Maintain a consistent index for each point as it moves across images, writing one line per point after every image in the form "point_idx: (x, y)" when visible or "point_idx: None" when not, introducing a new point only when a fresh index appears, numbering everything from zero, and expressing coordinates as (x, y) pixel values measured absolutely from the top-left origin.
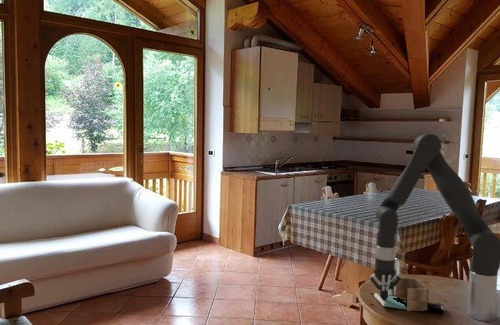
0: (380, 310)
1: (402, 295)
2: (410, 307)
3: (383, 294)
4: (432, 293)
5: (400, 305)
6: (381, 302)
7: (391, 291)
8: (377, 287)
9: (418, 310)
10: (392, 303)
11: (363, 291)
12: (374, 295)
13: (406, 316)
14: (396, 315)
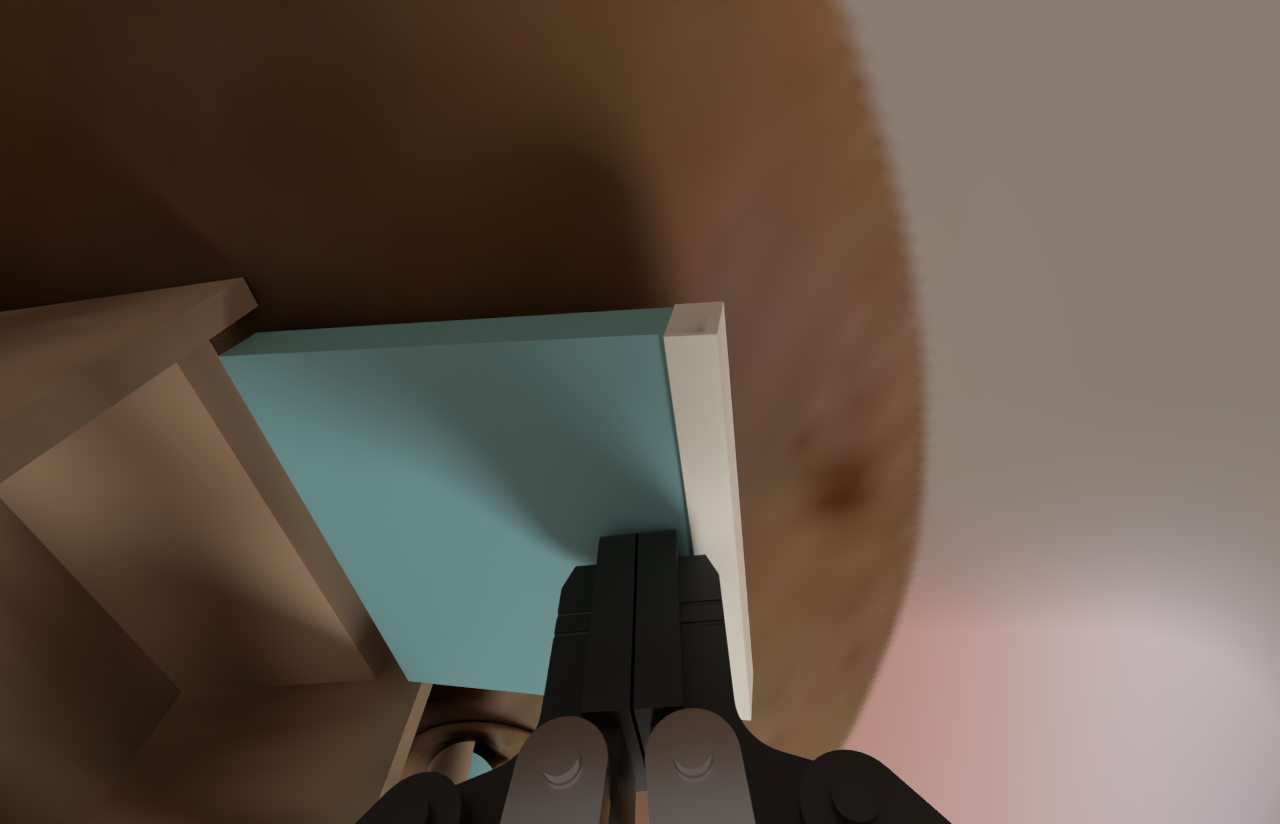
0: (769, 269)
1: (311, 708)
2: (120, 321)
3: (672, 620)
4: None
5: (334, 386)
6: (730, 437)
7: (460, 782)
8: (911, 821)
9: (19, 317)
10: (494, 420)
11: None
12: (752, 679)
13: (237, 15)
14: (468, 41)
